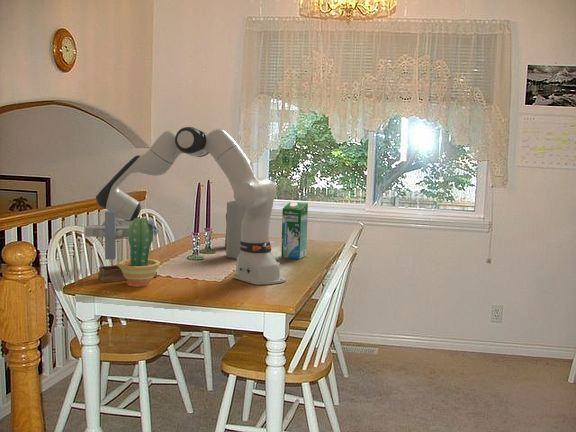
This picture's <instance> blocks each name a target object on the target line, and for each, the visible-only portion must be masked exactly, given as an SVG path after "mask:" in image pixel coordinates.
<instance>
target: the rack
mask: <svg viewBox="0 0 576 432" xmlns="http://www.w3.org/2000/svg"><path fill="white" fill-rule="evenodd" d="M97 278H98V279H99V280H100V281H101V282H102V283H110V282H111V283H112V282H121V281H122V282H123V281H127V280H126V278H125V277H124V276H123V273H122V270H121V269H120V268H119V265H106V266H105V265H104V266H103V265H102V266H99V267H98V273H97ZM154 278H158V272H157V271H156V274H155V276H154V277H153V279H154Z"/></svg>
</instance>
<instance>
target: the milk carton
mask: <svg viewBox="0 0 576 432" xmlns="http://www.w3.org/2000/svg"><path fill="white" fill-rule="evenodd" d="M308 209H309V203H308V202H298V201H297V202H295V201H289V202H288V203H287V204H286V205H285V206H284V207H283V208H282V213H281V214H282V215H281V216H282V218H281V219H282V220H281V221H282V222H281V250H280V251H281V255H280V256H281V258H283V259H284V258H285V259H295V260H300V259H302V258H305V257H307V249H308V247H307V245H308V242H307V240H308V215H309V214H308V213H309V211H308Z"/></svg>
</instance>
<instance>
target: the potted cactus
mask: <svg viewBox="0 0 576 432" xmlns="http://www.w3.org/2000/svg"><path fill="white" fill-rule="evenodd" d="M158 232H159V230H158V228H157V226H156V224H155V223H154V221H152V220H148V218H147V217H146V218H144V217H143V216H142V217H141V218H140V217H139V216H138V217H137V219H136V218H135V219H134V220H133V221H132V223H131V224H130V226H129V228H128V237H127V238H128V243H129V245H130V246H129V247H130V259H125V260H121V261H119V262H118V263H117V264H118V266H119V268H120V269H121V270H122V273H123V276H124V277H125V278H126V280H125V281H127V283H126V285H127V286H130V287H138V288H139V287H148V286H150V285H152V284H153V283H152V280H153V279H154V278H155V277H154V276H155V274H156V272H157V271H158V269H159V268H160V266H161V265H160V264H161V262H160V261H159V260H157V259H151V258H149V255H150V249H151V245H152V242H153V240H154V236H155V238H157V236H158V234H159V233H158ZM153 277H154V278H153Z"/></svg>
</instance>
